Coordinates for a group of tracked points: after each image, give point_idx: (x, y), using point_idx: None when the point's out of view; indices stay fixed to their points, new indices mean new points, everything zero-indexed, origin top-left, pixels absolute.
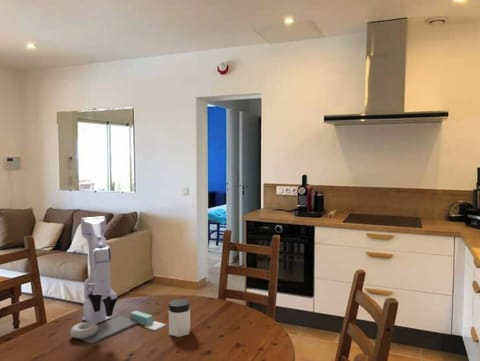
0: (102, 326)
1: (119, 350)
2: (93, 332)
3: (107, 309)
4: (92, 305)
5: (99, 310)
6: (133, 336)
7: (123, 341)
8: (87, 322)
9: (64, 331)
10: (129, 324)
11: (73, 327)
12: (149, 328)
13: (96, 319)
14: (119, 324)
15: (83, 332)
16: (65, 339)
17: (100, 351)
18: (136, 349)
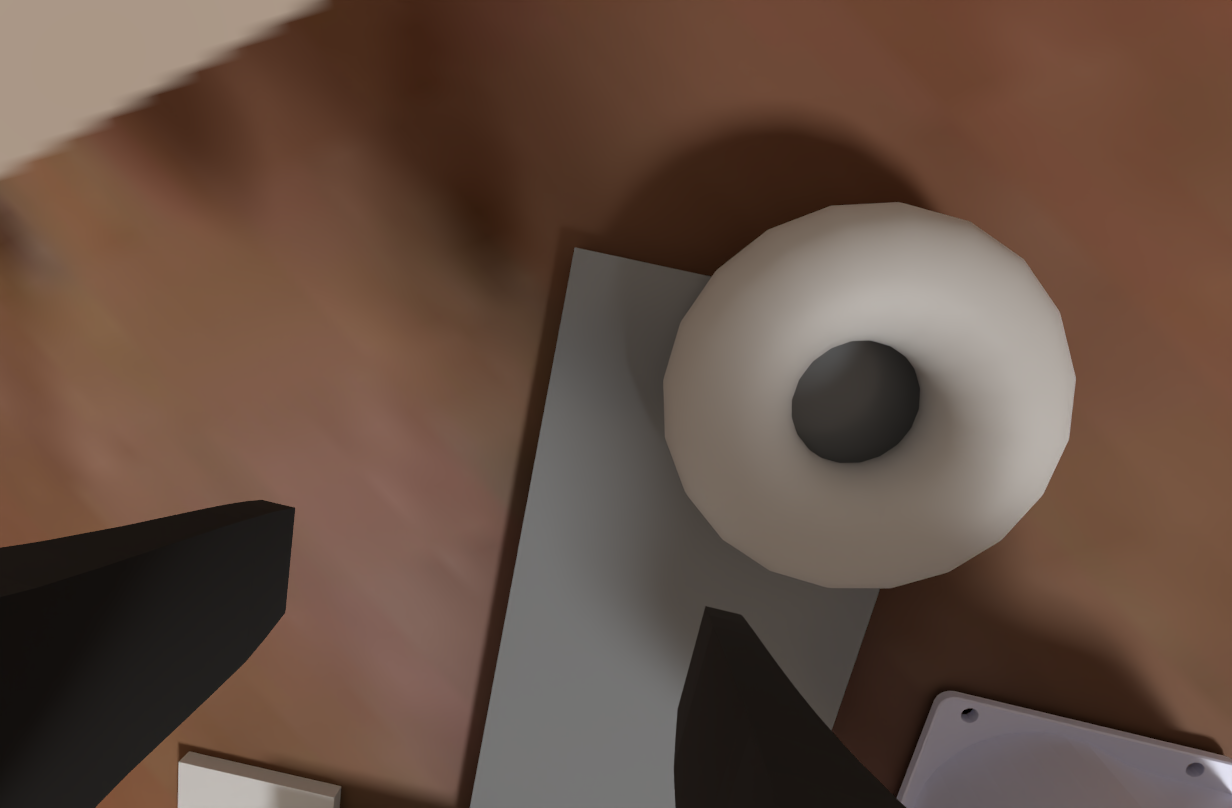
0: (771, 647)
1: (171, 256)
2: (663, 389)
3: (40, 548)
4: (807, 704)
5: (679, 705)
6: (288, 582)
7: (295, 448)
8: (915, 539)
9: (1223, 399)
10: (499, 781)
11: (1018, 307)
12: (261, 775)
13: (977, 767)
14: (609, 750)
15: (743, 267)
16: (1024, 214)
17: (340, 143)
18: (37, 348)
